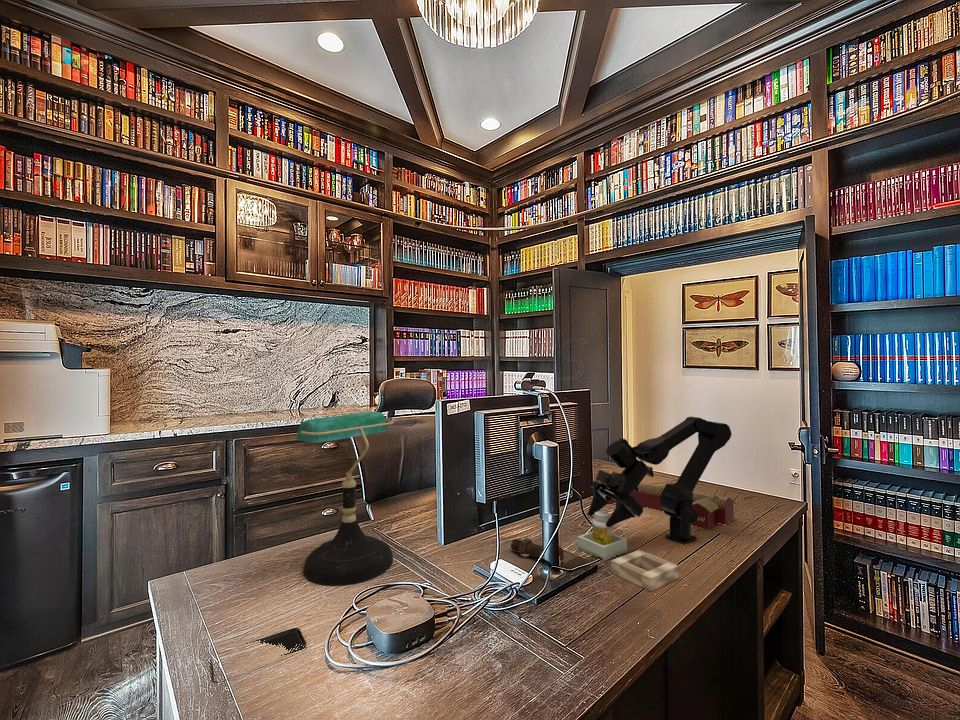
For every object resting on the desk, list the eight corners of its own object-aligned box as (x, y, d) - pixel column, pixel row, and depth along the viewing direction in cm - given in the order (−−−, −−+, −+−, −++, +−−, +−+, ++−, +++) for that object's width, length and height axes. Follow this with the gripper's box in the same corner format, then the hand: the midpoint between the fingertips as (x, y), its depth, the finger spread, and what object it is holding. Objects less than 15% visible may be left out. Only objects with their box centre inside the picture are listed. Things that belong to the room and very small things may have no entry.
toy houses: (736, 518, 150) (735, 488, 150) (715, 534, 135) (714, 502, 136) (616, 491, 182) (615, 467, 182) (589, 503, 168) (588, 476, 168)
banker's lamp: (360, 538, 134) (360, 408, 135) (415, 557, 121) (414, 412, 122) (278, 572, 113) (278, 417, 113) (334, 599, 99) (333, 423, 100)
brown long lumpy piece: (515, 556, 125) (561, 571, 115) (505, 553, 122) (551, 567, 112) (520, 536, 127) (565, 548, 117) (511, 531, 124) (556, 543, 114)
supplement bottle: (616, 547, 124) (615, 513, 124) (605, 553, 120) (604, 518, 121) (599, 541, 128) (599, 509, 128) (588, 547, 125) (588, 513, 125)
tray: (600, 540, 131) (600, 529, 131) (627, 551, 123) (627, 539, 123) (577, 548, 126) (577, 536, 126) (604, 560, 118) (604, 547, 118)
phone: (307, 646, 82) (214, 679, 73) (307, 652, 82) (214, 686, 73) (298, 626, 88) (211, 654, 80) (298, 631, 88) (211, 660, 80)
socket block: (639, 560, 117) (639, 549, 117) (679, 577, 108) (678, 565, 108) (611, 572, 111) (611, 560, 111) (651, 591, 101) (650, 578, 101)
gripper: (595, 454, 135) (563, 493, 131) (633, 467, 117) (597, 513, 113) (617, 477, 137) (587, 516, 134) (658, 493, 119) (624, 539, 116)
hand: (597, 520), depth 124 cm, fingers open, 9 cm apart
